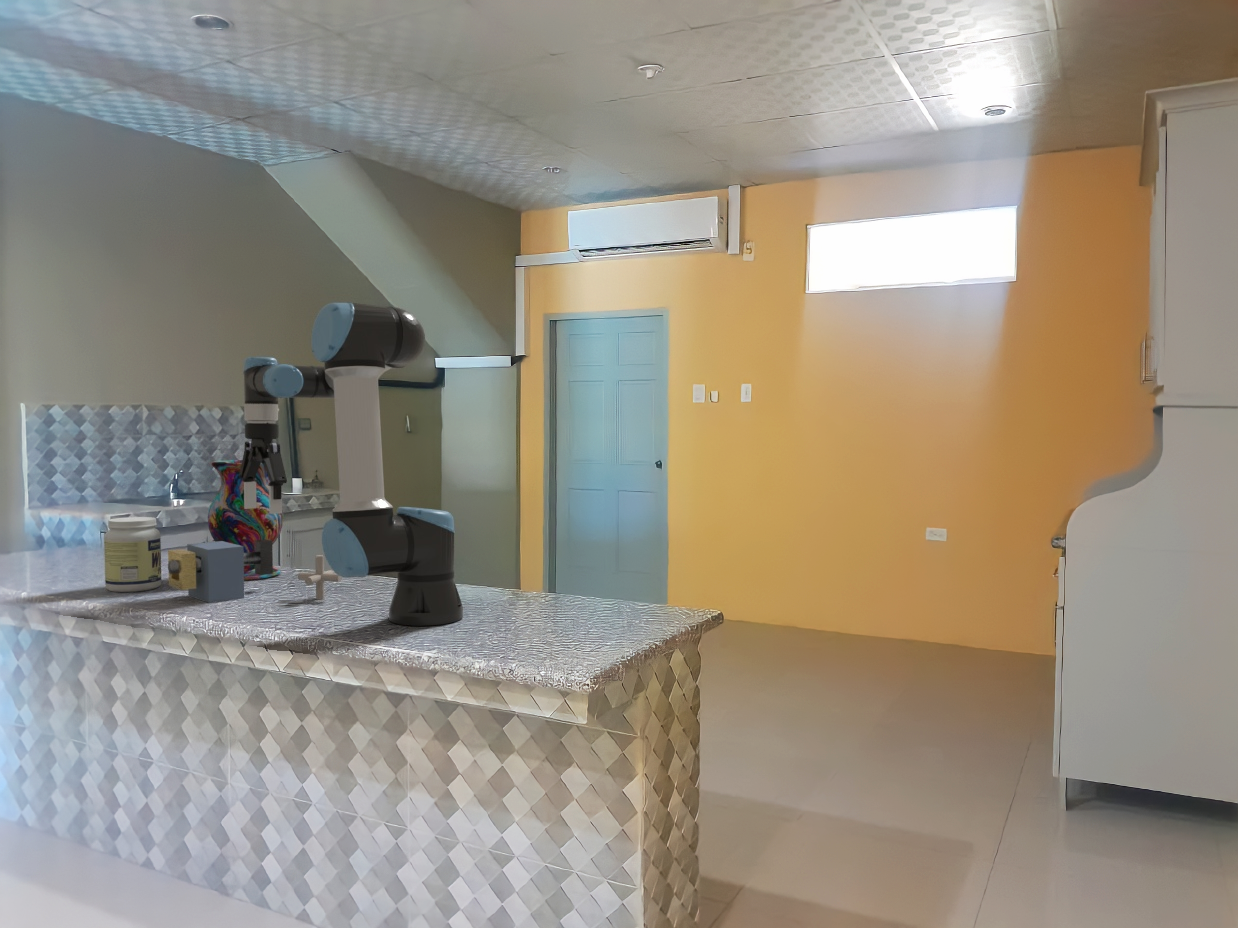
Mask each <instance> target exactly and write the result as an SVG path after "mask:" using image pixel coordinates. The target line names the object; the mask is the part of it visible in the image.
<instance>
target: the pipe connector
mask: <svg viewBox="0 0 1238 928" xmlns="http://www.w3.org/2000/svg"><path fill="white" fill-rule="evenodd" d="M297 578H298V580H299V581H304V584H305V585H307V586H311V585H314V584H315V600H317V601H320V600H321V601H322V600H324V599H325V582H334V583H335V582H336V583H337V582H338V583H340V582H342V578H343V577H341V576H339V575H337V574H336V573H335V572H334V571H333V570H332V569H329V570H327V571H325V554H324V555H323V554H317V555H315V572H307V571H306V572H304V571H303V572H301V571H300V572H299V573H298V575H297Z"/></svg>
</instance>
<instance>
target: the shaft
mask: <svg viewBox="0 0 1238 928" xmlns="http://www.w3.org/2000/svg"><path fill="white" fill-rule="evenodd" d="M273 562H274V561H273V545H272V540H267V539H266V540H255V552H248V553H244V566H246V565H254V564H255V574H258V575H266V574H273V566H274V563H273ZM167 569H168V574H169V573H170V574H176V573H179V561H176V560H172V561H169V562H168V564H167ZM196 571H201V557H200V558H196Z"/></svg>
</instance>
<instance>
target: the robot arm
mask: <svg viewBox="0 0 1238 928" xmlns="http://www.w3.org/2000/svg"><path fill="white" fill-rule="evenodd" d="M310 337H311V339H310V344H311V351H312V353H313V357H314V358H315V360H317V361H319V362H321V363H323V364H324V365H322V366H317V365H297V364H296V365H294V364H288V363H278V360H277V359H276V358H275V357H269V356H267V357H266V356H248V357H246V358H245V359H244V363H243V365H244V366H243V372H242V373H243V374H242V375H243V384H244V385H243V387H244V389H243V391H244V394H243V395H244V407H243V408H244V414H243V415H244V418H243V419H244V421H246V423H245V424H244V438H245V439H247V440H251V441H244V446H243V447H244V448H243V449H244V451H243V455H242V459H241V460H242V464H241V469H240V474H239V478H240V479H242V480H243V482H244V509H252V508H256V482H252V481H257V479H256V478H255V477H256V474H257V471H258V469H259V466H260V463H262V464H264V467H265V469H266V472H267V475H268V477H269V480H270V483H269V485H268V486H269V514H276V513H282V510H283V503H282V502H283V498H282V497H283V496H282V495H283V490H282V489H283V487H282V486H283V485H284V484H287V482H288V481H287V474H286V471H285V466H284V462H283V458H282V454H281V444H280V443H279V442H277V443H275V442H274V443H273V440H277V439H278V438H279V435H280V434H279V430H280V428H279V424H278V423H277V421H278V420H279V412H280V408H279V399H283V398H284V399H289V398H290V399H291V398H294V399H297V398H298V399H299V398H300V399H303V398H305V399H307V398H309V399H312V398H313V399H314V398H315V399H334V415H335V432H336V450H337V451H336V452H337V453H336V455H337V469H338V488H339V491H338V492H339V501H338V503H337V504H336V506H334V508H333V509H332V511H331V512H332V518H331V519H329V520H327V521H326V522H324V524H323V526H322V530H323V531H322V532H321V542H322V543H321V544H322V551H323V552H324V553H323V554H324V558H325V559H326V561H327V564H328V566H330V568H331V570H332V571H333V572H334V574H337V575H339V576H341V577H342V578H363V579H364V578H365V577H369V576H376V575H384V574H392V573H397V583H396V586H395V590H394V593H393V596H392V599H391V603H390V606H389V608H388V612H389V613H388V620H389V621H390V622H391V623H394V624H397V625H402V626H414V627H415V626H417V627H419V626H420V627H421V626H422V627H425V626H427V627H428V626H438V625H447V624H450V623H455V622H458V621H460V620H461V619H463V616H464V606H463V604H462V600H461V597H460V595H459V591H458V587H457V585H456V581H455V534H456V531H455V521H454V520H455V519H454V516H453V515H452V514H451V513H450V512H449V511H447V510H442V509H441V510H440V509H431V508H422V507H411V506H399V507H397V508H396V512H395V514H394V506H393V505H392V504H391V503H390V502H389V501H388V500H386V498H385V483H384V481H385V480H384V466H383V465H384V464H383V449H382V448H383V447H382V446H383V445H382V443H383V442H382V430H381V429H382V428H381V411H380V409H381V408H380V407H381V406H380V392H379V379H380V377H381V376H382V375H383V374H384V373H385V372H387V371H389V370H391V369H397V370H399V369H402V368H403V369H404V368H405V367H408V366H409V365H411V364H413V363H414V362H415V361H417V360H418V359H419V357H420V356H421V355H422V354H423V352H424V350H425V345H426V333H425V330H424V328H423V326H422V324H421V322H420V320H419V319H418V318H416V316H415V315H413V314H412V313H411V312H409V311H407V310H406V309H403V308H399V307H396V306H383V305H375V304H374V305H372V304H367V303H366V304H365V303H355V302H351V301H348V302H329V303H328V304H325V305H324V306H323V307H321V309H320V310H319V312H318V313H317V316H316V318H315V320H314V322H313V326H312V331H311V336H310Z"/></svg>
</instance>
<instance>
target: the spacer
mask: <svg viewBox="0 0 1238 928" xmlns="http://www.w3.org/2000/svg"><path fill="white" fill-rule="evenodd" d="M167 554H168V555H167V560H168V562H169V561H172V560H176V561H179V573H176V574H170V573H169V572H168V586H169V587H173V588H176V589H178V590H181V591H182V590H183V591H186V590H187V591H188V589H195V588H196V553H194V552H191V551H187V549H183V548H180V549H179V548H178V549H170V550H169V549H168V550H167Z"/></svg>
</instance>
